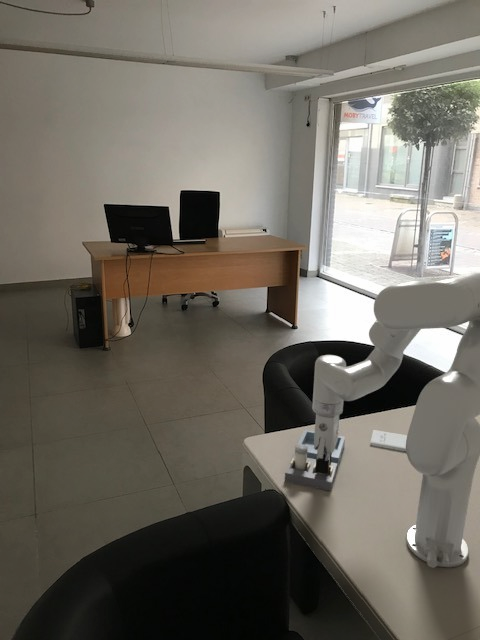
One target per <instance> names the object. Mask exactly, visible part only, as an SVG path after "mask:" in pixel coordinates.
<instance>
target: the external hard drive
mask: <svg viewBox="0 0 480 640" xmlns="http://www.w3.org/2000/svg"><path fill="white" fill-rule="evenodd" d="M407 435H408V434H400V433H394V432H388V431H382V430H377V429H373V430H372V434H371V439H370V443H369V444H370V446H371V445H372V447H378V448H382V447H383V448H382V449H388V448H389V449H390V450H393V449H395V451H399V450H401V451H400V452H404V451H406V439H407ZM389 449H388V450H389Z"/></svg>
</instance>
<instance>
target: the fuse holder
mask: <svg viewBox="0 0 480 640" xmlns="http://www.w3.org/2000/svg"><path fill="white" fill-rule="evenodd" d="M315 470H316V459H312V458H307V461H306V471H302V470H297V469H295V454H293V455H292V457H291V459H290V462H289V463H288V465H287V468H286V470H285V472H284V481H285V482H286V483H287V482H288V483H291V484H295V485H296V484H297V485H301V486H305V487H311V488H317V489H319V490H320V489H322V490H326V491H330V492H331V491H332V490H333V489H332V487H333V486H334V482H335V479H336V476H337V471H338V468H337V463H332V462H331V465H330V466H329V476H327V475H322V474H317V472H316V471H315Z"/></svg>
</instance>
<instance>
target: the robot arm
mask: <svg viewBox="0 0 480 640" xmlns="http://www.w3.org/2000/svg"><path fill="white" fill-rule="evenodd" d="M373 313H374V317H375V319H376V320H375V321H374V322H373V324H372V325H371V326H370V328H369V331H368V337H369V339H370V342H371V343H372V345H373V346H374V349H373V350H372V351H371V352H370V354H369V355H368V356H367V358H366V359H364V360H362V361H360V362H358V363H354V364H352V365H348V366H347V362H346V360H345V359H344V358H342V357H341V356H338V355H334V354H325V355H320V356H318V357H317V358H316V360H315V362H314V376H313V379H314V380H313V393H312V407H311V408H312V411H313V412H314V413H315V423H314V425H315V426H314V431H315V434H314V449H315V450H317V458H316V470H315V471H316V472H319V473H324V474H328V469H329V466H330V465H331V456H332V453H333V452H334V449H335V446H336V443H337V440H338V436H340V435H339V433H340V431H339V430H340V415H341V414H343V411H344V402H345V401H346V402H352V401H353V402H354V401H355V400H358V399H361V398H362V397H365V396H366V395H368V394H371V393H374V392H375V391H377V390H379V389H381V388H382V387H384V386H385V385H386V384H387V382H389V380H390V379H391V378H392V376H394V374H395V373H396V372H397V371H398V369H400V366H401V364H402V360H403V358H404V352H405V350H406V349H407V348H408V346H409V345H410V344H411V342H412V341H413V340H414V339H415V337H416V336H417V335H418V334H419V332H420V331H421V330H424V329H425V330H426V329H428V330H429V329H431V330H432V329H444V328H445V329H447V328H452V327H457V326H458V327H459V326H460V325H463V324H466V323H468V325H467V328H466V329H465V331H464V333H463V335H462V337H461V338H460V340H459V342H458V346H457V348H456V353H455V356H454V357H453V358H454V359H453V361H452V363H451V366H450V368H449V369H448V370H447V371H446V372H445V373H443V374H442V375H440V376H437V377H435V378H434V379H432V380H431V381H429V382H428V383H427V384H426V385H425V386H424V387H423V389H422V390H421V392H420V394H419V396H418V399H417V401H416V404H415V408H414V410H413V414H412V418H411V422H410V424H409V427H408V432H407V434H406V435H407V439H406V452H405V453H406V456H407V460H408V461H409V463H410V464H411V466H412V467H413V469H415V471H417V472H418V473H419V474H422V479H421V485H420V491H419V500H418V508H417V513H416V523H415V524H414V525H413V526H411V527H410V528H409V529H408V530H407V533H406V538H405V539H406V544H407V547H408V548H409V550H410V551H411V552H412V553H413V555H414V556H416V557H417V558H418V559H420V560H422V561H424V562H425V563H426V564H427V566H428V567H430V568H432V569H434V568H436V567H442V568H454V567H458V566H461V565H462V564H464V563H465V562H466V561H467V559H468V555H469V546H468V543H467V542H466V540H465V539H464V538H463V537H464V532H465V526H466V519H467V513H468V508H469V502H470V496H471V491H472V487H473V480H474V475H475V471H476V468H477V465H478V462H479V459H480V422H479V421H478V420H477V419H476V418H477V417H478V416H480V272H470V273H465V274H461V275H459V276H458V275H457V276H454V277H450V278H446V279H442V280H437V281H430V282H429V281H428V282H426V281H422V280H409V281H405V282H401V283H398V284H396V283H395V284H392V285H389V286H387V287H385V288H383V289H382V290H381V291H380V292H379V293H378V294H377V296H376V297H375V300H374V303H373ZM324 452H326V455H325V454H324ZM329 453H331V455H330V465H329V459H328V454H329Z"/></svg>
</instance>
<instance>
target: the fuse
mask: <svg viewBox="0 0 480 640" xmlns="http://www.w3.org/2000/svg"><path fill="white" fill-rule="evenodd" d="M294 448H295V449H294V455H295V469H297V470H302V471H306V461H307V451H308V447H307V446H306V445H303V444H298V443H297V444H296V445H295V447H294Z"/></svg>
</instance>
